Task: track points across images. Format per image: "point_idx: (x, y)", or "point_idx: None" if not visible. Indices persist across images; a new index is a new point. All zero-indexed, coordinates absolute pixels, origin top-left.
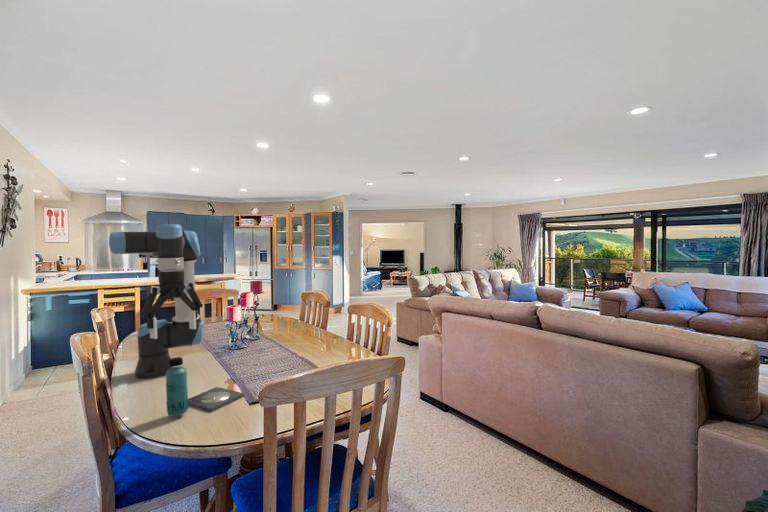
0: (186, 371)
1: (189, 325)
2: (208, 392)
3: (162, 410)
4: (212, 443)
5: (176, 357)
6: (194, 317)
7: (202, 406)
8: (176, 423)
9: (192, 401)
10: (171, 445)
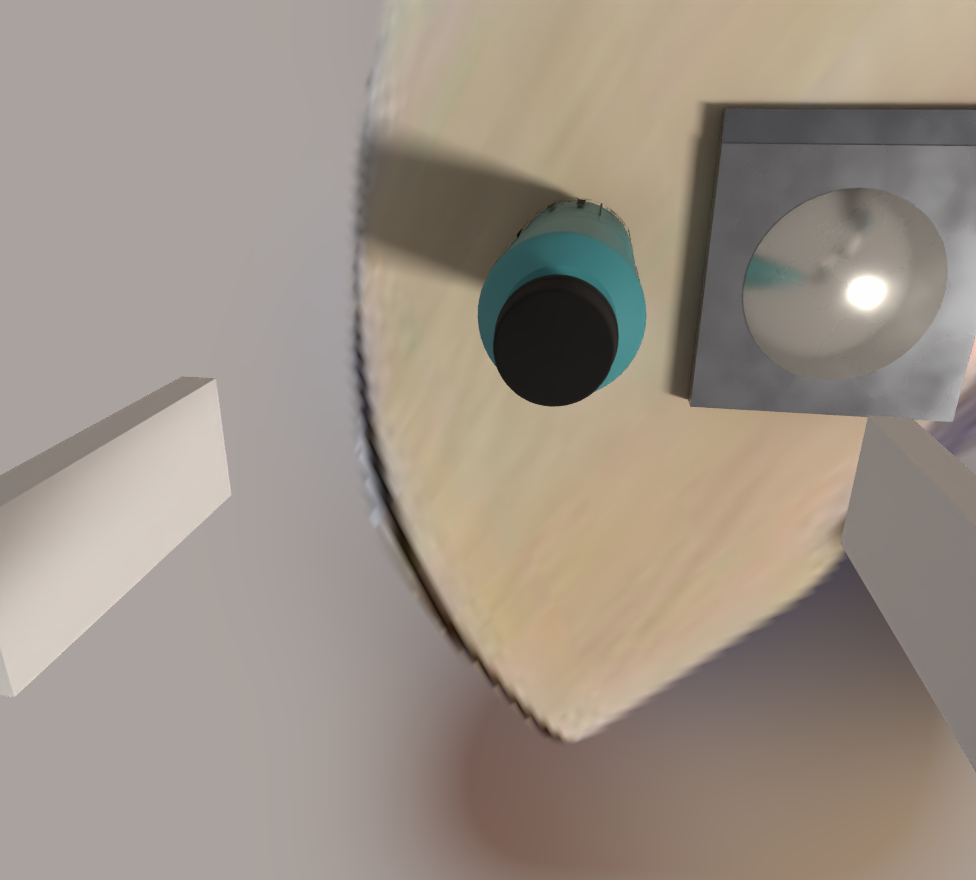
0: (616, 375)
1: (890, 441)
2: (906, 156)
3: (591, 71)
4: (466, 627)
5: (582, 321)
6: (939, 687)
7: (700, 320)
8: None
9: (734, 191)
10: (377, 492)
